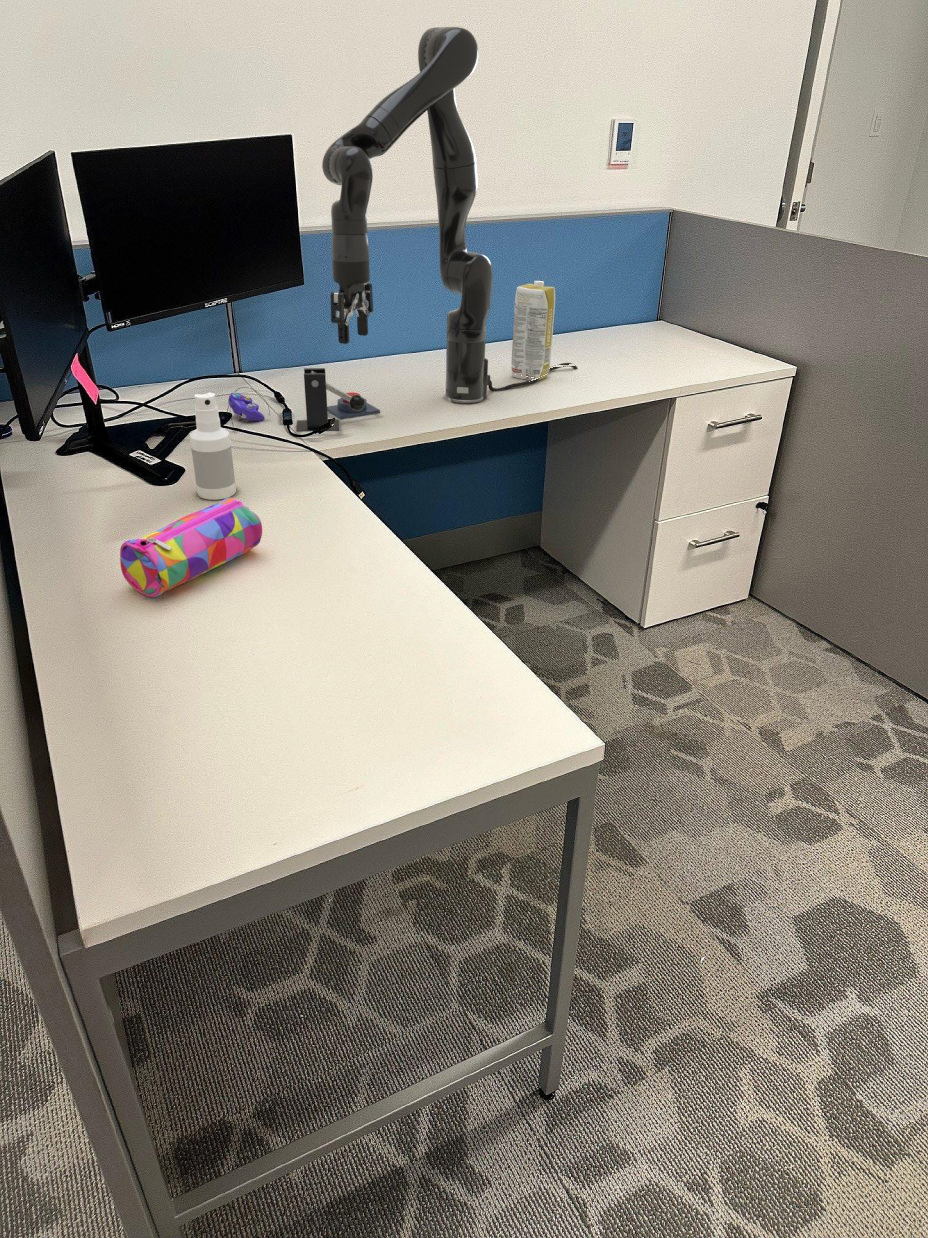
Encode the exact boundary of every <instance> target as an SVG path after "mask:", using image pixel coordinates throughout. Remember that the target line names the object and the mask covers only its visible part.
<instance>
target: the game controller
mask: <svg viewBox="0 0 928 1238" xmlns="http://www.w3.org/2000/svg"><path fill="white" fill-rule="evenodd" d="M240 389H250V390H253V391H254V392H256V393H258V391H257V390H255V389H254V388H251V387H248V386H242V387H239V388H237V389H236V390H235V391H233V392H230V394H229V396H228V399H227V404H228V405H227V410H226V413H225V414H226V415H228V413H230V416H232V412H233V413H234V414H235V415H238V416H240V417H241V418H240V419H239V420H238V422H240V421H241V420H244V421H248V420H251V421H253V422H262V421H265V419H266V418H265V416H264V414H263V413H262V412H261V411H259V409H260V405H259V404H257V403H255V402H253V398H251V397H250V396H246V395H243V394H241V393H239V392H237V391H239V390H240ZM259 395H260V396H261V397H262V398H264V396H262V394H261V393H259ZM264 401H265V403H266V404H267V406H268V408H270V406H269V404H268V402H267V400H266V399H264ZM229 409H232V412H231V411H229ZM228 411H229V412H228ZM270 412H271V411H270V410H268V415H270ZM230 419H231V424H232V427H233V428H235V427H234V422H233V418H232V417H230ZM221 420H225V416H224V415H222V416H221Z"/></svg>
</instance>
